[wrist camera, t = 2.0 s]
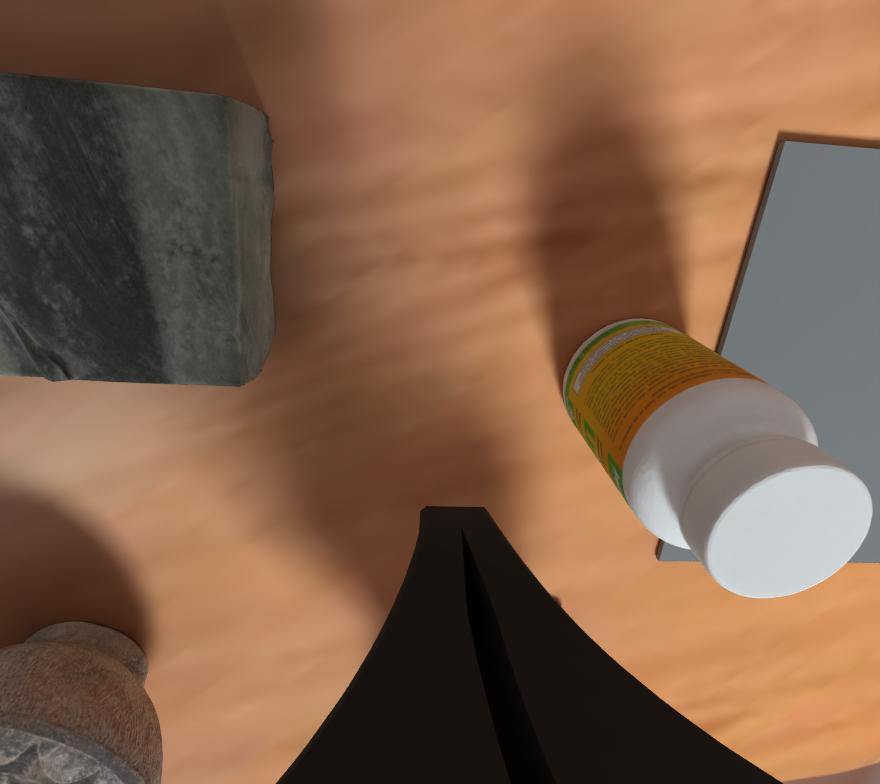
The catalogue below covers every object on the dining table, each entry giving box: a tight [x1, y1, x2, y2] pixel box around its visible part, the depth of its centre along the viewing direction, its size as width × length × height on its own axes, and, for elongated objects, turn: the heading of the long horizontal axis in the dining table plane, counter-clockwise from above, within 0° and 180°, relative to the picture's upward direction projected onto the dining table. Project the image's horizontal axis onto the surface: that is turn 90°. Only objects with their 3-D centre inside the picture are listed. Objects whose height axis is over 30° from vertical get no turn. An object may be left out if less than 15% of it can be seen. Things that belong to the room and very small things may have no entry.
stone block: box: [0, 72, 276, 387], centre depth 15 cm, size 9×14×5 cm, turn 85°
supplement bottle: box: [563, 318, 873, 598], centre depth 17 cm, size 5×5×10 cm
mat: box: [656, 141, 880, 563], centre depth 22 cm, size 18×14×1 cm
